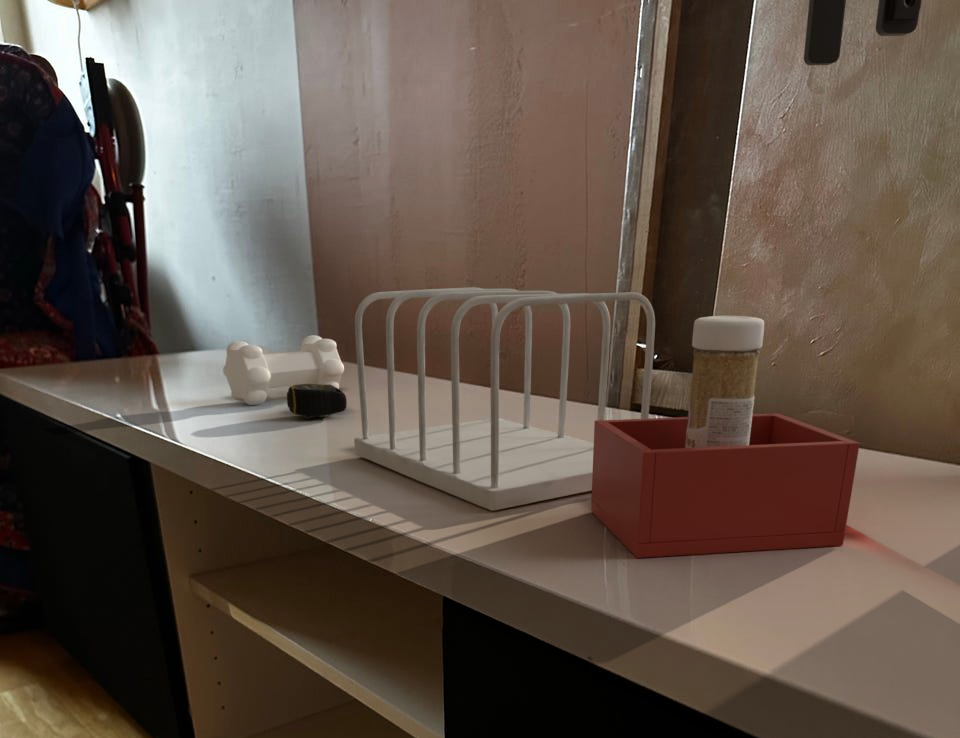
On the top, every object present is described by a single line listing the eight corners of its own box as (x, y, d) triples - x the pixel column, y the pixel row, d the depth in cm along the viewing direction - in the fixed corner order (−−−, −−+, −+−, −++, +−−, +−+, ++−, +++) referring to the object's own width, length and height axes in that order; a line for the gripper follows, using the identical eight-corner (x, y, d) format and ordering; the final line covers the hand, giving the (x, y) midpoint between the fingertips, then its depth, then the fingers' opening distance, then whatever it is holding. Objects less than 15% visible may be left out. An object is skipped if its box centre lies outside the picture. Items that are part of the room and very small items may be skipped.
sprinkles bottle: (675, 505, 65) (690, 315, 60) (736, 506, 65) (757, 314, 59) (682, 522, 61) (699, 320, 56) (748, 523, 61) (772, 319, 55)
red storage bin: (767, 501, 70) (778, 413, 67) (843, 545, 59) (860, 442, 56) (590, 511, 68) (594, 420, 65) (636, 558, 57) (643, 452, 54)
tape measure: (349, 419, 107) (347, 387, 105) (293, 423, 105) (290, 391, 103) (337, 410, 113) (335, 381, 111) (284, 414, 111) (281, 384, 109)
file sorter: (353, 457, 87) (341, 289, 80) (497, 436, 95) (496, 283, 89) (492, 513, 68) (490, 298, 61) (656, 481, 76) (670, 290, 70)
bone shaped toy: (317, 390, 130) (312, 333, 126) (349, 396, 124) (345, 336, 120) (224, 401, 121) (216, 340, 117) (254, 409, 115) (247, 344, 111)
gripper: (1056, -383, 42) (987, 23, 48) (885, -233, 54) (849, 71, 61) (912, -392, 41) (862, 24, 47) (773, -236, 54) (749, 73, 60)
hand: (855, 50), depth 54 cm, fingers open, 8 cm apart
